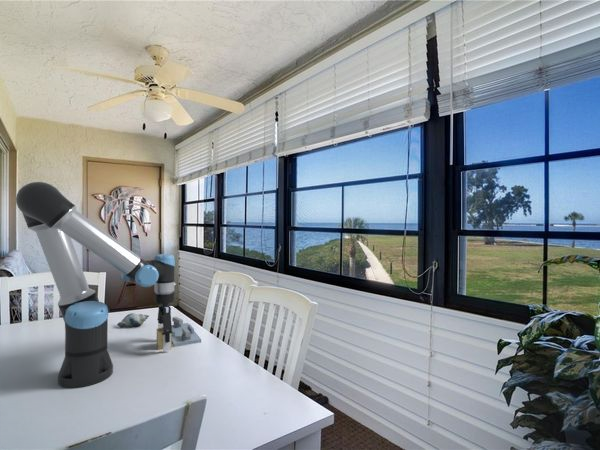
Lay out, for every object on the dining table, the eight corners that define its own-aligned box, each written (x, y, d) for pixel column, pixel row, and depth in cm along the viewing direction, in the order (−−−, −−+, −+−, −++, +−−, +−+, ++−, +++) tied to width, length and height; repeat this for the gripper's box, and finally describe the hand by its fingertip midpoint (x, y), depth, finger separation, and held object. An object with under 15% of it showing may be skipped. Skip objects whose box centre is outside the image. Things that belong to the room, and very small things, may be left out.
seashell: (124, 327, 164) (147, 328, 162) (115, 325, 157) (139, 326, 156) (127, 314, 166) (150, 315, 165) (119, 312, 160) (142, 312, 158)
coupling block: (171, 347, 135) (171, 328, 135) (158, 350, 132) (158, 330, 132) (169, 343, 139) (169, 325, 139) (156, 345, 137) (156, 326, 137)
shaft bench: (201, 342, 142) (201, 330, 141) (173, 346, 136) (174, 334, 136) (187, 325, 164) (187, 315, 164) (163, 328, 158) (164, 318, 158)
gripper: (180, 297, 127) (179, 353, 127) (169, 286, 148) (168, 333, 149) (159, 299, 123) (158, 357, 123) (150, 287, 145) (150, 336, 145)
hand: (164, 344), depth 136 cm, fingers open, 13 cm apart
